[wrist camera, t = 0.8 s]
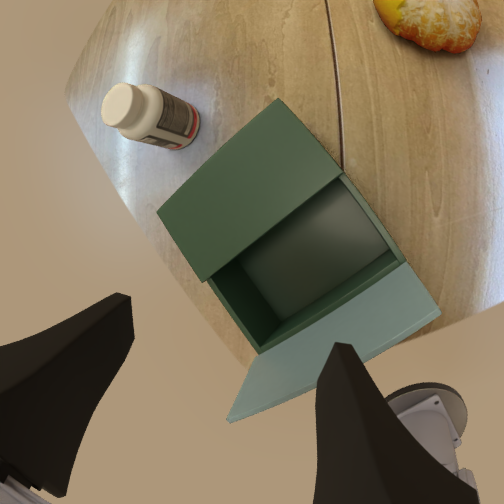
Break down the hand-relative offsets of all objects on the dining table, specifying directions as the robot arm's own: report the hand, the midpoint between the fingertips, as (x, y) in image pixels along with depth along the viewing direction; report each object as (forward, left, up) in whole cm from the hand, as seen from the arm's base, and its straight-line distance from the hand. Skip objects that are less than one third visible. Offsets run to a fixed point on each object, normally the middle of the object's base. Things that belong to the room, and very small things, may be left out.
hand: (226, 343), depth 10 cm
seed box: (+4, 0, -18) cm, 19 cm away
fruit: (+12, -25, -18) cm, 33 cm away
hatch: (-4, 0, -7) cm, 8 cm away
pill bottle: (+20, +3, -18) cm, 27 cm away
